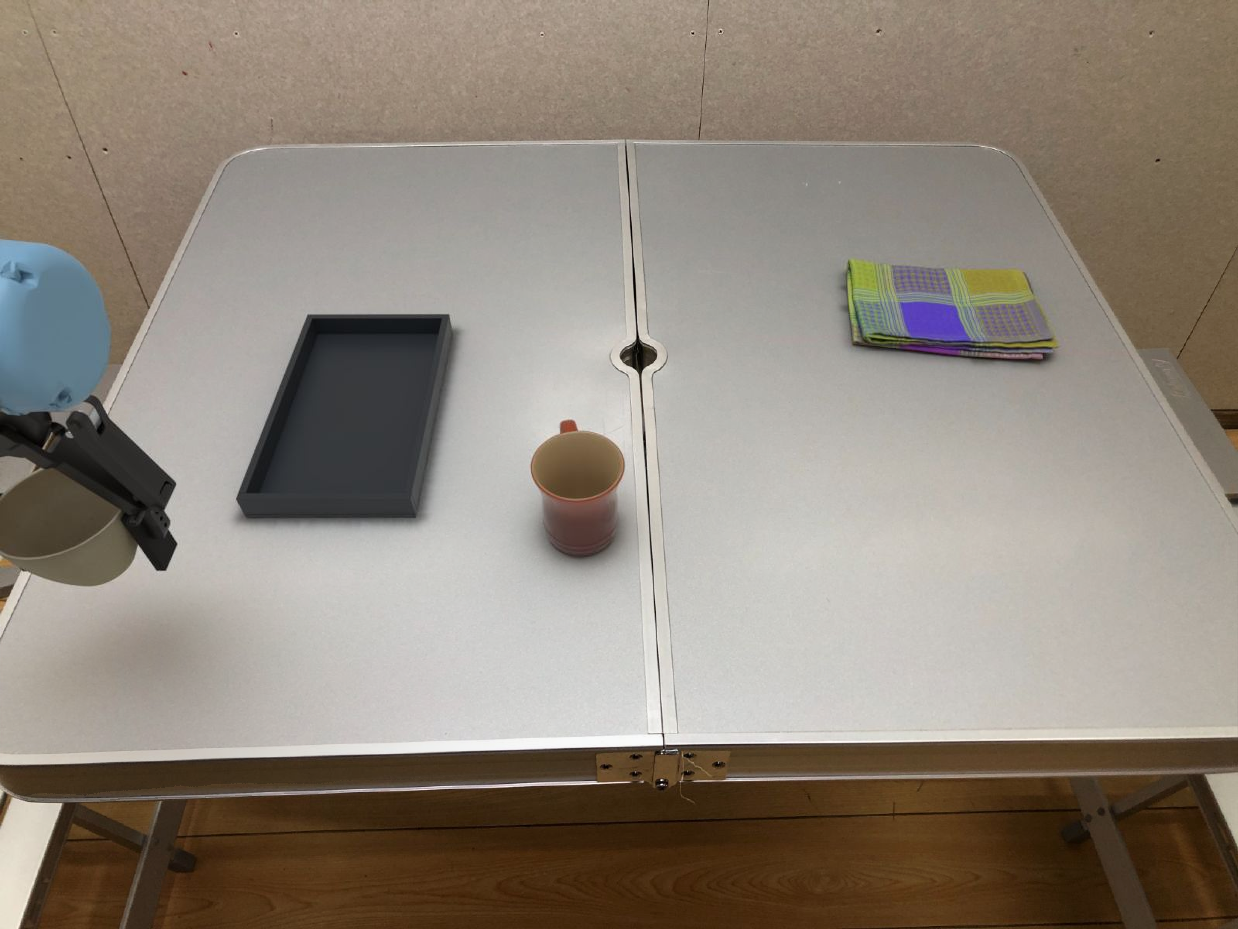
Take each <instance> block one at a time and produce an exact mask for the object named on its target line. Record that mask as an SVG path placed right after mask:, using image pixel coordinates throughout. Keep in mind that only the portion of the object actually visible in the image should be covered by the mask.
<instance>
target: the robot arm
mask: <svg viewBox="0 0 1238 929" xmlns="http://www.w3.org/2000/svg"><path fill="white" fill-rule="evenodd" d="M111 343H112V331H111V321H110V319H109V317H108V315H107V311H106V307H105V301H104V296H103V294H102V291H101V288H99V285H98V283H97V282H96V280H95V278H94V277H93V275H92V274H91V273H90V272H89V270H88V269H87V268H86V267H85V266H84V265H83V264H82V263H81V262H80V261H79V260H78V259H76V258H75V257H74V256H73V255H72V254H70V253H68V252H67V251H65V250H63V249H61V248H58V247H57V246H53V245H50V244H46V243H42V242H32V241H23V240H13V239H3V238H0V458H4V457H12V458H17V459H26V460H27V461H29V462H30V463H32V464H34V465H35V466H37V467H39V468H40V469H41V468H43V469H50V468H54V469H56V470H57V471H59V472H61V473H62V474H64V475H65V476H67V477H69V478H70V479H72V480H74V481H75V482H77V483H78V484H80V485H82V486H83V487H85V488H86V489H88V490H90V491H91V492H93V493H95V494H96V495H98V496H99V497H101V498H103V499H104V500H106V501H107V502H109V503H111V504H112V505H114V506H116V507H117V508H119V509H120V510H122V511H124V512H125V513H124V515H123V517H122V519H121V521H122V523H123V524H124V525H125V527H126V528H127V530H128V531H129V533H130V534H131V535H132V537H133V538H134V540H135V541H136V542H137V544H138V548H140V550H141V551H142V552H143V554H144V555H145V557H146V558H147V560H148V561H149V562H150V564H151V565H152V567H153V568H154V570H155V571H156V572H167V570H168V568H169V565H170V563H171V561H172V558H173V556H174V554H175V552H176V549H177V547H178V541H177V540H176V539H175V537H174V536H173V535H172V533H171V531H170V527H171V519H170V517H169V516H168V514H167V513H166V511H165V510H166V508H167V506H168V504H169V502H170V500H171V497H172V496H173V493H174V491H175V489H176V487H177V481H175V480H174V478H172V477H171V476H170V475H169V473H167V472H166V471H165V470H164V468H162V467H161V466H160V465H159V464H157V462H156V461H155V460H154V459H152V458H151V456H149V455H148V454H147V453H146V452H145V451H144V450H143V449H142V448H141V446H139V445H138V444H137V443H136V442H135V441H134V440H133V439H131V438H130V436H129V435H127V434H126V433H125V432H124V430H122V429H121V428H120V427H119V426H118V425H117V424H116V423H115V422H114V421H113V420H112V419H110V418H111V417H109V415H108V413H107V410H106V409H105V407H104V405H103V403H102V402H101V400H100V399H99V398H98V397H97V396H95V395H93V393H94V392H95V391H96V389H97V387H98V386H99V384H100V383H101V381H102V380H103V378H104V376H105V373H106V371H107V367H108V364H109V360H110V354H111ZM52 434H53V435H54V439H53V440H52V442H51V444H50V445H49V446H48V448H47V450H46V449H44V447H45V446H46V444H47V442H48V441H49V439H50V437H51V435H52ZM3 493H4V492H0V497H1V495H2V494H3ZM18 569H20V571H21V572H26V571H25V570H23V569H21V568H20V567H18Z"/></svg>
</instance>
